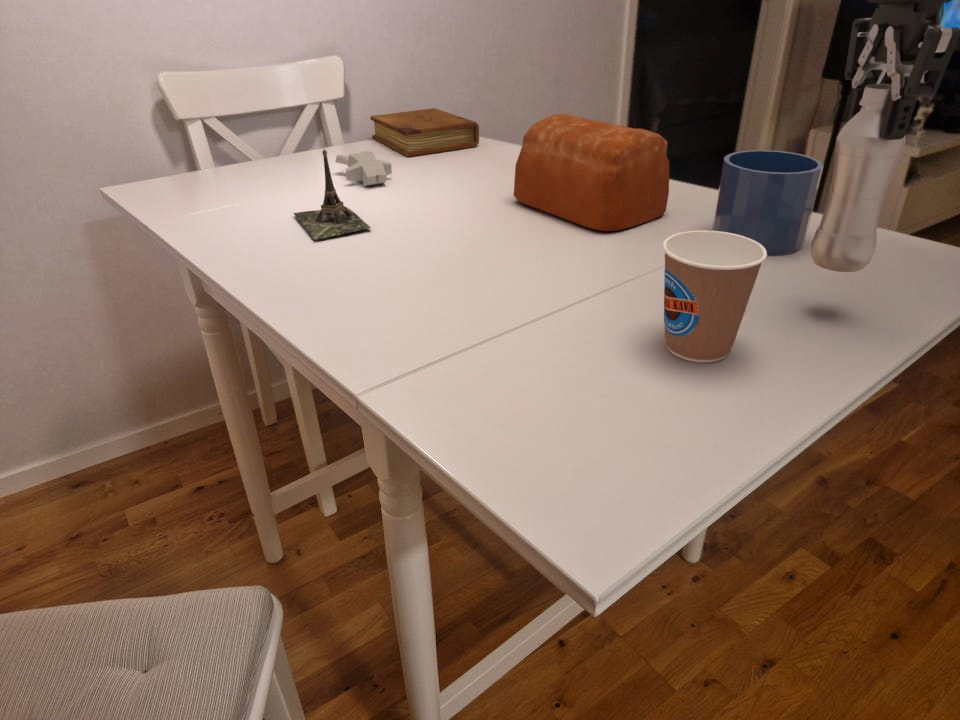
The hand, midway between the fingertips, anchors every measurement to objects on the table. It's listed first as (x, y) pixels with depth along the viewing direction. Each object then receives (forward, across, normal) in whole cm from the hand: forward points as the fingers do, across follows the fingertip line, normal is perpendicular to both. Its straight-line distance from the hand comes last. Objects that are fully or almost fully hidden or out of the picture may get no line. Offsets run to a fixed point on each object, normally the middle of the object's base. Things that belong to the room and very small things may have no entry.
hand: (873, 131), depth 69 cm
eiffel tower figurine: (+21, +40, +66) cm, 80 cm away
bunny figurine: (+21, +67, +63) cm, 95 cm away
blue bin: (+22, +25, -2) cm, 33 cm away
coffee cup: (+22, -7, +18) cm, 29 cm away
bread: (+22, +43, +21) cm, 53 cm away
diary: (+21, +98, +52) cm, 113 cm away
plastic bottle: (+16, 0, 0) cm, 16 cm away
